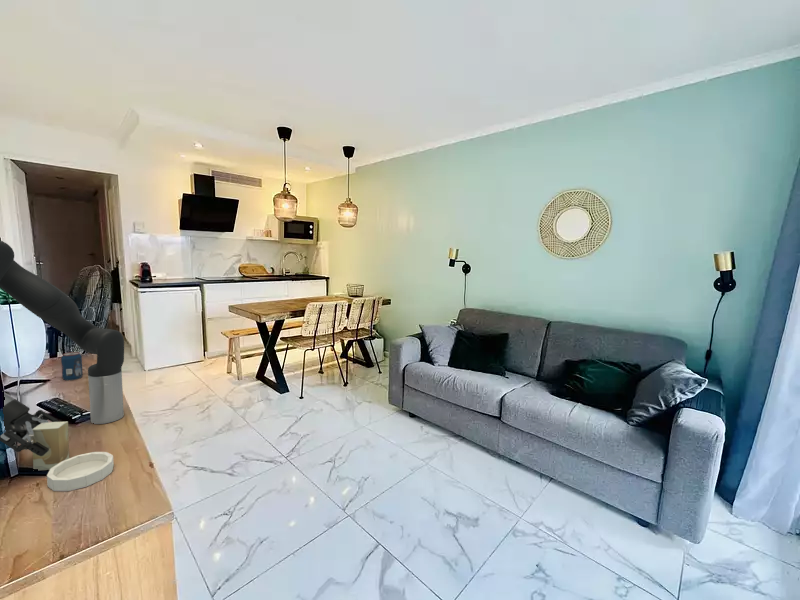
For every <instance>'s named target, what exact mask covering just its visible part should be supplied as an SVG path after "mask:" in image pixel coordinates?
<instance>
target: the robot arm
mask: <svg viewBox="0 0 800 600" xmlns="http://www.w3.org/2000/svg"><path fill="white" fill-rule="evenodd" d="M0 288H1V289H2V290H3V291H4V292H5V293H6V294H7V295H9V296H10V297H11V298H12V299H13V300H15V301H16V302H17V303H19V304H20V305H22V306H23V307H24V308H26V310H28V311H30V313H32V314H34V315H35V316H36V317H38V318H39V319H40V320H43V321H44V322H46V323H47V324H49V325H51V326H52V327H54V328H55V329H56V330H57V331H60V332H61V333H62V334H64V335H66V337H68V339H70V340H71V341H73V342H74V343H75V344H76V345H77V346H78V347H79V348H80V349H81V350H83V351H85V353H88V354H93V355H96V363H94V364H91V365H89V366H88V368H87V378H88V396H89V412H90V423H91V424H93V423H94V425H104V424H109V423H110V424H111V423H112V422H116V421H118V420H120V419H122V418H124V414H125V413H124V395H123V394H124V391H123V389H124V388H123V373H122V372H123V371H122V370H123V369H122V367H123V364H124V362H125V339H124V336H123V334H122V333H121V332H120V331H119V330H116V329H113V328H111V329H110V328H101V327H98V326H97V325H94V324H93V323H91V322H90V321H89V320H87V319H86V318H85V317H83V315H82V314H81V312H80V310H79V307H78V305H77V303H76V302H75V301H74V299H72V298H71V297H70V296H69V295H67V294H66V293H65V292H63V290H61V289H59V288H58V287H57V286H56V285H53V284H52V283H51V282H49V281H47V280H46V279H43V278H42V277H41V276H38V275H37V274H35V273H33V272H31V271H29V270H28V269H26V268H25V267H23V266H22V265H20V264H19V263H18V262H16V260H15V252H14V250H13V248H12V247H11V245H9V244H8V243H7V242H4V241H2V240H1V239H0ZM3 392H4V391H3ZM4 397H5V400H4V407H3V414H4V420H3V421H4V426H5V430H6V431H5V430H4V431H3V432H4V433H2V434H1V435H0V442H1V443H3V444H5V445H6V446H7V447H9V448H11V449H12V450H14V451H15V452H17V453H19V452H22V451H23V450H25V451H27V450H28V451H30V452H31V453H32V454H33V453H35V454H37V455H39V456H43V455H44V454H46V453H47V452H48V451H49V448H47V447H45V446H44V445H42V444H40V443H39V442H36V441H35V439H34V437H33V436H34V432H33V430H32V429H33V428H35V427H36V426H38V425H39V424H41V423H46V422H49V421H50V422H60V420H58V419H57V418H55V417H54V416H52V415H50V414H49V413H47V412H45V411H44V410H42V409H38V410H37V411H36V412H35V413H34V414H32V413H29V411H30V407H28V406H27V405H26V404H24V403H22V401H19V400H18V399H16V398H15V397H13V396H11V395H9V394H8V393H6V392H4ZM35 442H36V443H35ZM17 443H18V444H19V445H18V444H17Z"/></svg>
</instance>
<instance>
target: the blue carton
mask: <svg viewBox="0 0 800 600" xmlns="http://www.w3.org/2000/svg"><path fill="white" fill-rule="evenodd" d="M60 358H61V359H60V360H61V363H60V364H61V374H62V376H61V377H62V379H63V380H64V381H68V382H69V380H70V381H76V380H79V379H81V378H82V377H83V373H84V372H83V359H82V358H83V357H82V355H81V353H80V352H79V351H72V352H71V351H69V352H66V353H63V354H62V356H61V357H60Z"/></svg>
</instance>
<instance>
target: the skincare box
mask: <svg viewBox="0 0 800 600" xmlns="http://www.w3.org/2000/svg"><path fill="white" fill-rule="evenodd" d="M32 430H33V432H34V436H33V437H34V439H35V441H36V442H39V443H40V444H42V445H44V446H45V447H47V448H49V451H48V452H47V453H46V454H44V455H43V456H39V455H37V454H35V453H33V452H32V465H33V467H32V468H33V469H38V471H50V469H51V468H52V467H54V466H55V465H57V464H59V463H60V462H62V461H64V460H67V459H69V458H70V451H69V450H70V448H69V447H70V445H69V441H70V440H69V421H59V422H52V421H50V422H49V421H48V422H46V423H41V424H39V425H38V426H36V427H35V428H33V429H32ZM36 442H35V443H36Z"/></svg>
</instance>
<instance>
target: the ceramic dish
mask: <svg viewBox="0 0 800 600" xmlns="http://www.w3.org/2000/svg"><path fill="white" fill-rule="evenodd" d="M114 463H115V462H114V455H113V454H111V453H110V452H108V451H92V452H87V453H82V454H78V455H74V456H72V457H69V459H67V460H64V461H62V462H60V463H59V464H57V465H55V466H54V467H52V468H51V469H50V470H48V472H47V474H46V482H47V483H46V484H47V488H49V489H50V490H52V491H53V492H70V491H74V490H78V489H82V488H86V487H89V486H91V485H93V484H96V483H98V482H100V481H103V479H105V478H107V476H109V475H110V474H111V473H112V472H113V469H114V465H115V464H114Z"/></svg>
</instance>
